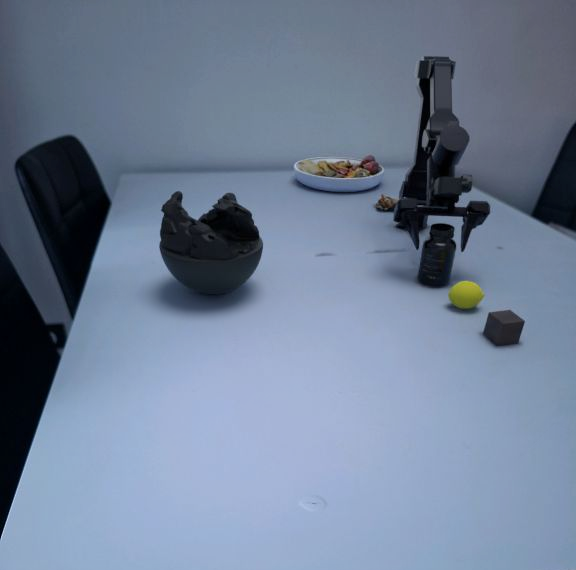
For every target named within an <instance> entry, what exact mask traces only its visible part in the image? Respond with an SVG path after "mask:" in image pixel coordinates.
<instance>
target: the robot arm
mask: <svg viewBox="0 0 576 570" xmlns="http://www.w3.org/2000/svg"><path fill="white" fill-rule="evenodd" d="M456 63H457V61H455V60H452V59H450V57H449V56H441V55H422V57H421V60H417V61H416V63H415V68H414V79H416V82H415V88H416V90H417V93H418V95H419V98H420V105H419V113H418V121H417V130H416V138H415V145H414V153H413V162H412V165H411V166H410V167H409V169H408V170H407V172H406V173H405V177H404V180H402V184H401V185H400V189H399V193H398V199H397V200H398V201H397V203H396V206H395V209H394V208H393V222H395V223H397V224H395V227H397V228H400V229H404V230H406V232H407V233H408V235H409V237H410V239H411V241H412V244H413V246H414V248H415V250H416V251H419V250H420V241H421V240H420V231H421V230H423V229H425V228H426V227H428V220H429V217H430V216H432V217H456V218H457V217H458V218H462V225H461V227H460V229H461V230H460V253H464V252H465V250H466V247H467V244H468V242H469V239H470V235H471V233H472V231H473V230H475V229H477V227H479V226H482V225H483V224H484V223H485V221H486V220H487V219H488V217H489V215H490V214H491V204H490V202H488V201H487V200H469V202H468V204H467V205H466V206H456V204H458V203H459V201H460V197H461V196H462V195H463V194H469V193H470V192H471V191H472V188H473V174H462V175H461V176H460V177H458V176H457V177H456V166H457V165H459V163H460V161H461V159H462V157H463V155H464V153H465V151H466V149H467V147H468V145H469V143H470V134H469V133H468V131H467V130H466V129H465V128H464V127H462V126H460V120H459V118H458V117H457V115H455V113H453V86H452V85H453V84H452V80H454V77H455V70H456Z"/></svg>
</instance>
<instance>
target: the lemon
mask: <svg viewBox="0 0 576 570" xmlns="http://www.w3.org/2000/svg"><path fill="white" fill-rule="evenodd" d="M447 296H448V299H449V301H450V303H451V304H452V305H453V306H454V307H457V308H459V309H461V310H468V309H469V310H470V309H472V308H475V307H477V306H478V305H479V304H480V302H481V301H482V300H483V298H484V297H485V293H484V292H483V290H482V288H481V286H480V285H479V284H478V283H476V282H475V281H470V280H462V281H459V282H457V283H456V284H454V285H453V286H452V287H451V288H450V290H449V291H448V293H447Z"/></svg>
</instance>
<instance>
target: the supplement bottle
mask: <svg viewBox="0 0 576 570" xmlns="http://www.w3.org/2000/svg"><path fill="white" fill-rule="evenodd" d="M455 230H456V229H455V226H454V225H452V224H449V223H444V222H436V223H433V224H430V228H429V231H428V235H429V236H428V237H426V238H425V239H424V240H423V241H422V245H421V251H420V252H421V253H420V259H419V265H418V272H417V280H418V282H419V283H420V284H421V285H423V286H426V287H431V288H443V287H446V286H448V284H449V283H450V282H451V281H450V280H451V276H452V271H453V266H454V262H455V258H456V257H455V256H456V255H455V254H456V251H457V243H456V241H455V240H454V239H453V238H454V237H455Z"/></svg>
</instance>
